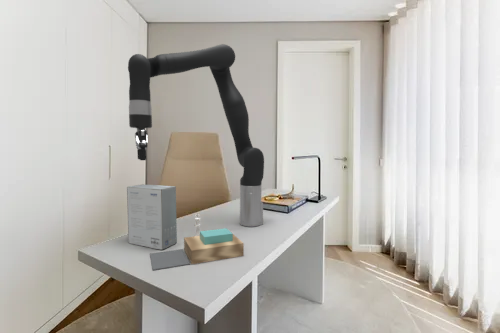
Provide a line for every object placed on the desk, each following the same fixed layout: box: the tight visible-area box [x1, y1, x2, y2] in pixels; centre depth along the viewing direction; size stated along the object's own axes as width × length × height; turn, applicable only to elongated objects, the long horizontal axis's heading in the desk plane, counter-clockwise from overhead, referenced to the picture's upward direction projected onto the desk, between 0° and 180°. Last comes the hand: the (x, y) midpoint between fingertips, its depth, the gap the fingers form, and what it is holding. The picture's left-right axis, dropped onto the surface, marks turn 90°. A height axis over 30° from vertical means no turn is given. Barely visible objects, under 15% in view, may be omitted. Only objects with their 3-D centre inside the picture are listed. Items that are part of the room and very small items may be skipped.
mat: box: [149, 248, 191, 271], centre depth 81 cm, size 10×12×1 cm
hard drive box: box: [126, 184, 178, 251], centre depth 94 cm, size 16×8×20 cm, turn 66°
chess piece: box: [194, 212, 201, 236], centre depth 97 cm, size 5×5×10 cm
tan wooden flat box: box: [183, 233, 245, 265], centre depth 87 cm, size 16×12×4 cm
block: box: [199, 227, 234, 245], centre depth 87 cm, size 9×6×2 cm, turn 114°
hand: (141, 159), depth 99 cm, fingers open, 8 cm apart
